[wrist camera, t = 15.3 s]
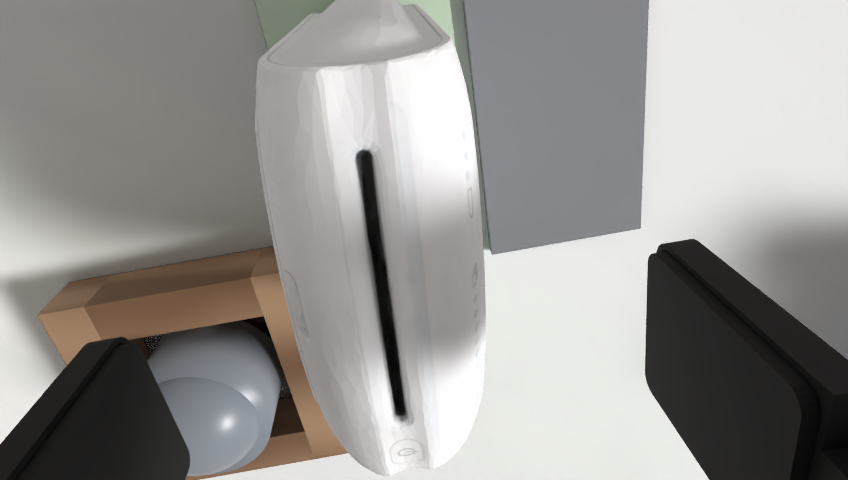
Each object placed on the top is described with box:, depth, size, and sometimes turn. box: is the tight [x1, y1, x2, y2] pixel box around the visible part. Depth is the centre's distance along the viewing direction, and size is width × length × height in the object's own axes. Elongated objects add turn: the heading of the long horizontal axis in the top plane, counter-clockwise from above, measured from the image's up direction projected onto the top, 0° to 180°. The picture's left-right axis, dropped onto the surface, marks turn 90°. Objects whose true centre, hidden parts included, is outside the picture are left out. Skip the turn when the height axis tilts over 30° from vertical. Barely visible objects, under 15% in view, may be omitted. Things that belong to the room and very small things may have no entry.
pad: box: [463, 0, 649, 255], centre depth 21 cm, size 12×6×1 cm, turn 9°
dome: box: [147, 320, 284, 476], centre depth 22 cm, size 6×6×5 cm
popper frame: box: [37, 246, 348, 480], centre depth 24 cm, size 10×10×2 cm
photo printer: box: [254, 0, 486, 476], centre depth 15 cm, size 10×4×12 cm, turn 5°
